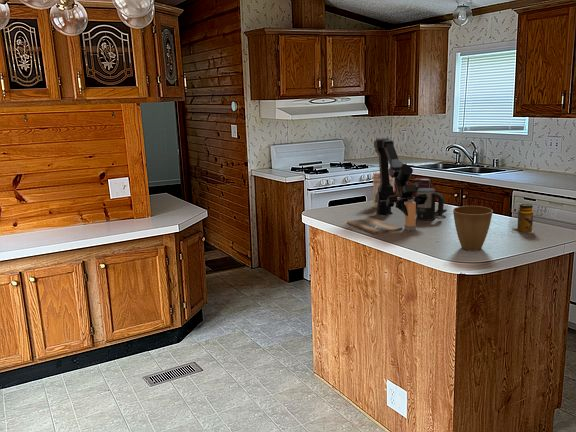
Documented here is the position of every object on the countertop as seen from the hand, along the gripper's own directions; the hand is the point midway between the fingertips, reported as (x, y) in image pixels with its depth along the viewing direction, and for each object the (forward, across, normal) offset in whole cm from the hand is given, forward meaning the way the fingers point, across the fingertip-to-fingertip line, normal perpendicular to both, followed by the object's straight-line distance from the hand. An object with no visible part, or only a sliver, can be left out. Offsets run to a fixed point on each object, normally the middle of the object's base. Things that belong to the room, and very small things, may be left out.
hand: (411, 215), depth 247 cm
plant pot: (+30, +11, -20) cm, 37 cm away
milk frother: (-10, +19, +20) cm, 29 cm away
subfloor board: (-4, -14, +14) cm, 20 cm away
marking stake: (+4, 0, +6) cm, 7 cm away
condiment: (+18, +45, -7) cm, 49 cm away
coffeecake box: (-35, +7, +45) cm, 58 cm away
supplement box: (-25, +24, +36) cm, 50 cm away
